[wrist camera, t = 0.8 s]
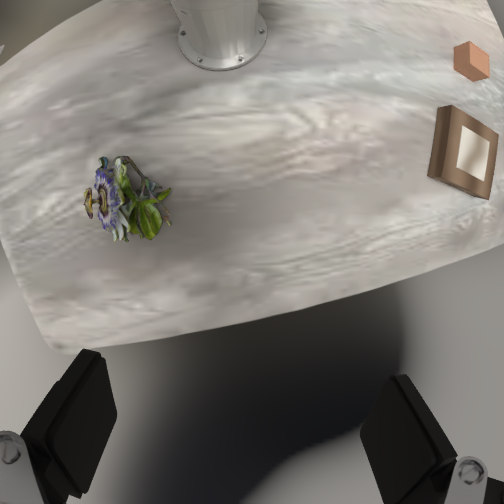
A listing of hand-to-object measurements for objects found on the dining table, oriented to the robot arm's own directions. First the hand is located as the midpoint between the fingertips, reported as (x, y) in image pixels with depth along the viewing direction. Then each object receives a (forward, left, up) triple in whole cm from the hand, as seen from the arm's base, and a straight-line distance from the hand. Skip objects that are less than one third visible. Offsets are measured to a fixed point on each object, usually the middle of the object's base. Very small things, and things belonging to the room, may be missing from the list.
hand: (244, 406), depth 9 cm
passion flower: (-11, -12, -35) cm, 38 cm away
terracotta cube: (-8, +48, -35) cm, 60 cm away
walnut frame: (+6, +37, -35) cm, 51 cm away
